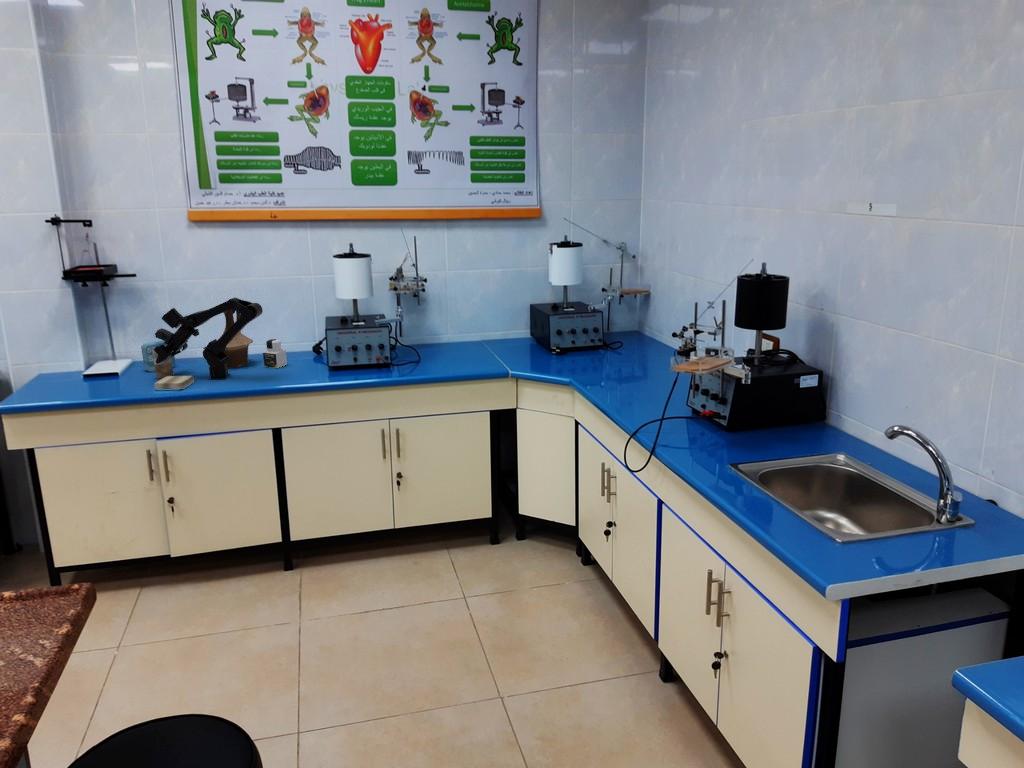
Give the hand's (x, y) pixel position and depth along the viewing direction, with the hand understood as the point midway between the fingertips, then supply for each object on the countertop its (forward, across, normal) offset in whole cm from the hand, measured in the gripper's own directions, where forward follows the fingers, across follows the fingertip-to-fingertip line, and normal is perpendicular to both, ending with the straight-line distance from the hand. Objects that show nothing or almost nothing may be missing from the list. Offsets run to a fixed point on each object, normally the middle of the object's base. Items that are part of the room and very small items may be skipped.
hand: (159, 361), depth 323 cm
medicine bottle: (-25, -18, +35) cm, 47 cm away
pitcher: (-12, -21, +22) cm, 32 cm away
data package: (+10, -13, 0) cm, 16 cm away
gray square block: (+4, 0, +6) cm, 7 cm away
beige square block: (-4, +15, +14) cm, 21 cm away
